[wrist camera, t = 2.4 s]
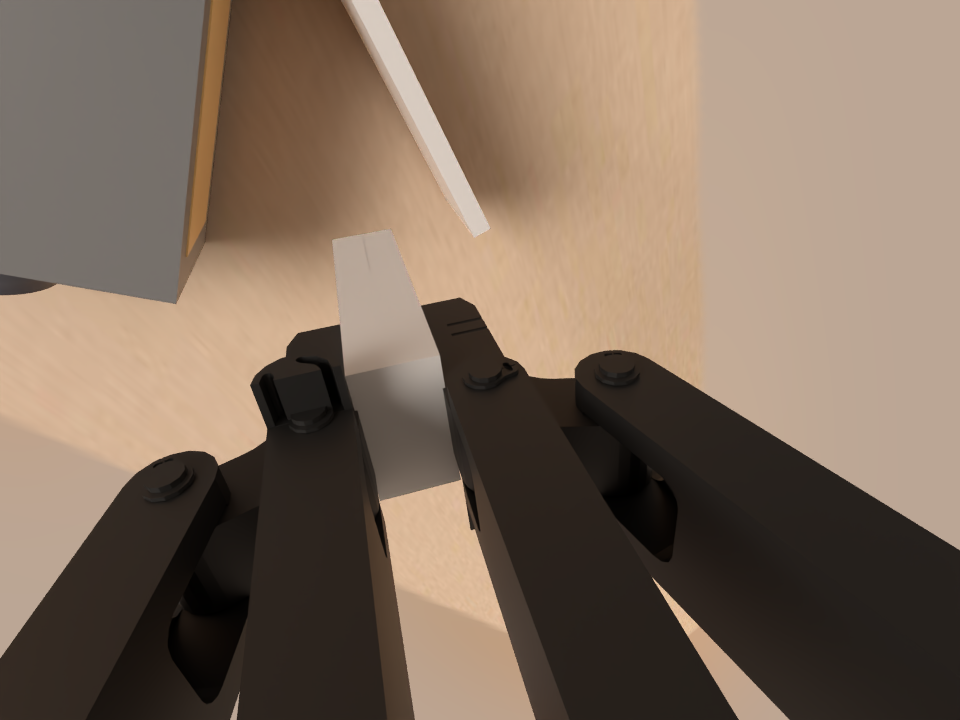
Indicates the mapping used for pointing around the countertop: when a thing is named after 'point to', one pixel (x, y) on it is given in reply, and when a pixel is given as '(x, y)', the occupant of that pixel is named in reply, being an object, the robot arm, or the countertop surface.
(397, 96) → the side door
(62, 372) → the countertop surface
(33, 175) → the camera case
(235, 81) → the countertop surface
